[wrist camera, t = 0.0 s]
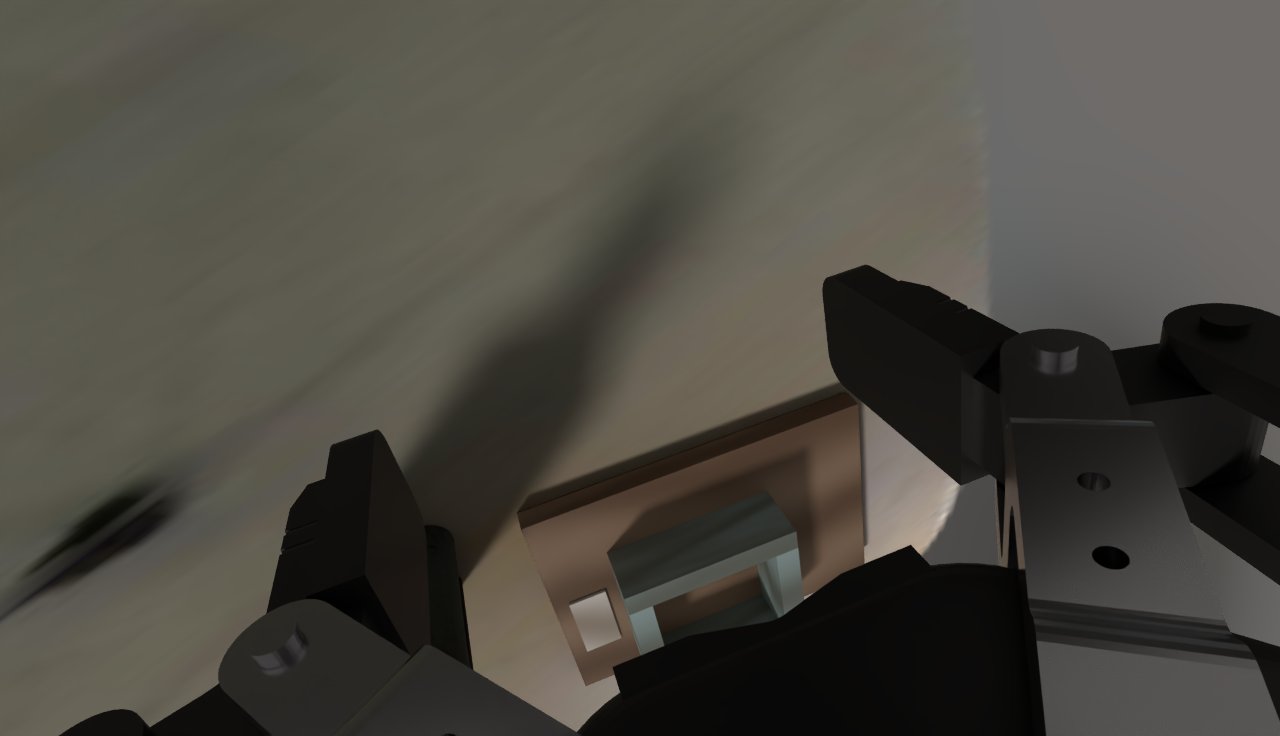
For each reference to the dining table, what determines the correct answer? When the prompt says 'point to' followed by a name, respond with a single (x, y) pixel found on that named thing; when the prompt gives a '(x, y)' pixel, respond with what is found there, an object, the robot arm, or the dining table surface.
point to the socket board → (703, 536)
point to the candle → (446, 597)
